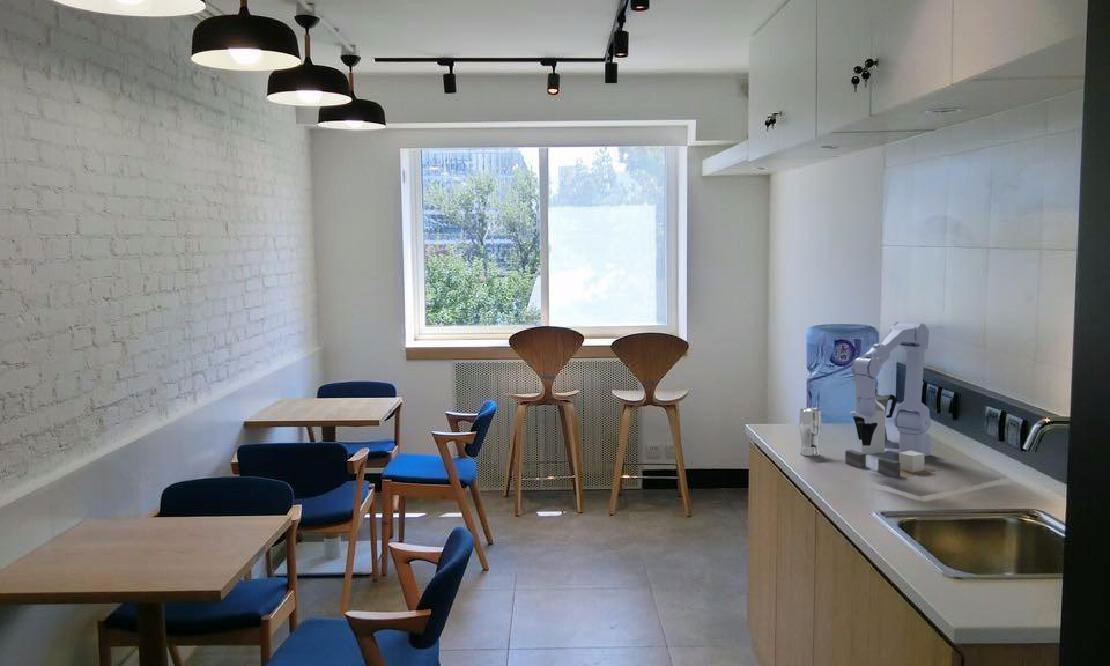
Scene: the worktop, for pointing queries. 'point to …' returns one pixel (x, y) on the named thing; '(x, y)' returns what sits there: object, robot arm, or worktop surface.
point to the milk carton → (877, 432)
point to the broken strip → (855, 458)
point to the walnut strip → (907, 474)
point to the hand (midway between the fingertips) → (864, 442)
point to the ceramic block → (911, 461)
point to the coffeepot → (884, 402)
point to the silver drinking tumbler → (810, 431)
